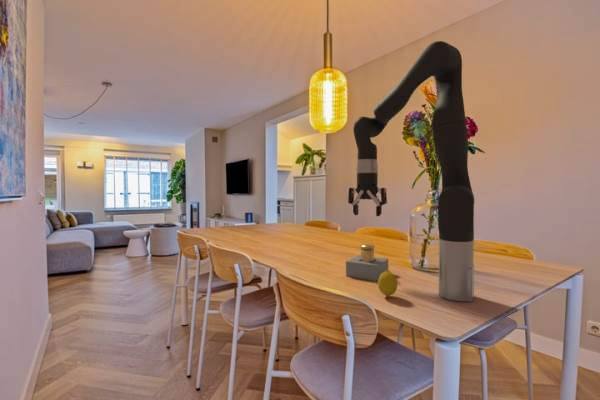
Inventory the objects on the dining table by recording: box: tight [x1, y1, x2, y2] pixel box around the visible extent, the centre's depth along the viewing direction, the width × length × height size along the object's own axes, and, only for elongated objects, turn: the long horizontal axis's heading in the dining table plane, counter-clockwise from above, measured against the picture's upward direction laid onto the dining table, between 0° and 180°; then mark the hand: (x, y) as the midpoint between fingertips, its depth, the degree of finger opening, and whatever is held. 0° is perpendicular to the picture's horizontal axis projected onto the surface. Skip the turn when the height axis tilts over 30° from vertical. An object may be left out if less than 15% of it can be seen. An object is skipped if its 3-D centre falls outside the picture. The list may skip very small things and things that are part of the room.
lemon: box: [377, 270, 398, 298], centre depth 93 cm, size 6×6×8 cm
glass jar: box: [359, 243, 376, 263], centre depth 117 cm, size 5×5×11 cm
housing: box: [345, 254, 389, 282], centre depth 117 cm, size 12×12×6 cm
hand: (366, 215), depth 116 cm, fingers open, 8 cm apart
